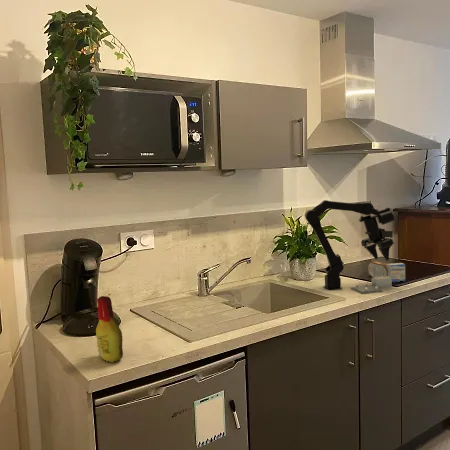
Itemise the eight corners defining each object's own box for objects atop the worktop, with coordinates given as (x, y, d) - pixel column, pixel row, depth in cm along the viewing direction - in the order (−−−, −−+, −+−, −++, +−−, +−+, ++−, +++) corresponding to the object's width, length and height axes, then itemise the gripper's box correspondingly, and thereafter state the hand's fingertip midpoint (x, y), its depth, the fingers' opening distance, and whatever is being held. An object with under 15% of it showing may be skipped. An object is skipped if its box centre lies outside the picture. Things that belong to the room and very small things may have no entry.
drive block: (376, 289, 215) (376, 278, 215) (371, 287, 219) (371, 277, 219) (391, 287, 217) (391, 277, 217) (386, 286, 221) (386, 275, 220)
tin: (392, 281, 229) (392, 264, 228) (387, 281, 228) (387, 264, 227) (371, 275, 243) (371, 259, 242) (366, 276, 242) (366, 260, 241)
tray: (362, 293, 208) (362, 288, 208) (351, 289, 218) (351, 283, 218) (382, 291, 210) (382, 286, 210) (370, 286, 220) (370, 281, 220)
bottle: (92, 356, 149) (87, 295, 147) (111, 351, 153) (106, 291, 151) (108, 367, 139) (103, 301, 137) (128, 361, 143) (123, 297, 141)
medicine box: (390, 282, 226) (390, 265, 225) (385, 280, 230) (385, 263, 229) (405, 281, 227) (405, 263, 226) (400, 279, 232) (400, 262, 231)
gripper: (398, 222, 209) (408, 255, 211) (376, 222, 228) (385, 252, 229) (377, 230, 207) (387, 263, 208) (356, 229, 225) (366, 260, 227)
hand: (382, 259), depth 218 cm, fingers open, 9 cm apart
